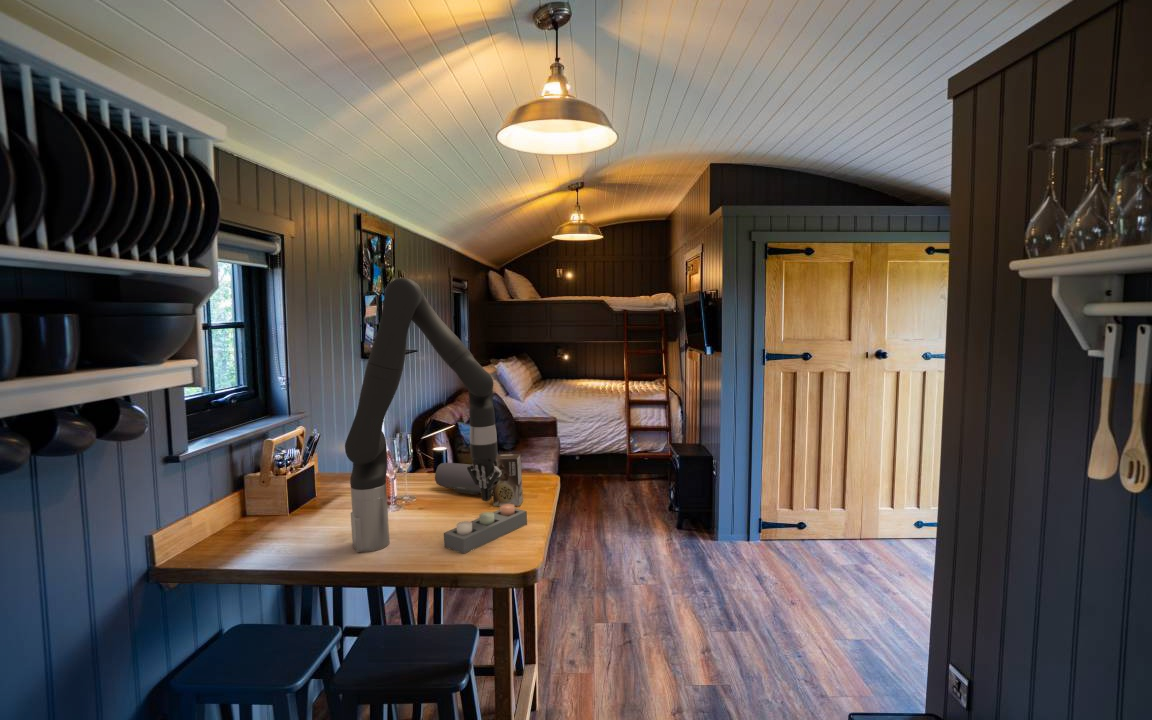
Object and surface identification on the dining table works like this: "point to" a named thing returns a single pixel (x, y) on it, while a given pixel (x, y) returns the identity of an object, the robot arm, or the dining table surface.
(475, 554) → the dining table surface
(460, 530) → the cream button
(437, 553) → the dining table surface
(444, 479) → the bluetooth speaker
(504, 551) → the dining table surface
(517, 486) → the coffee box
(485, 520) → the sage button
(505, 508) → the terracotta button
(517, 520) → the button panel
